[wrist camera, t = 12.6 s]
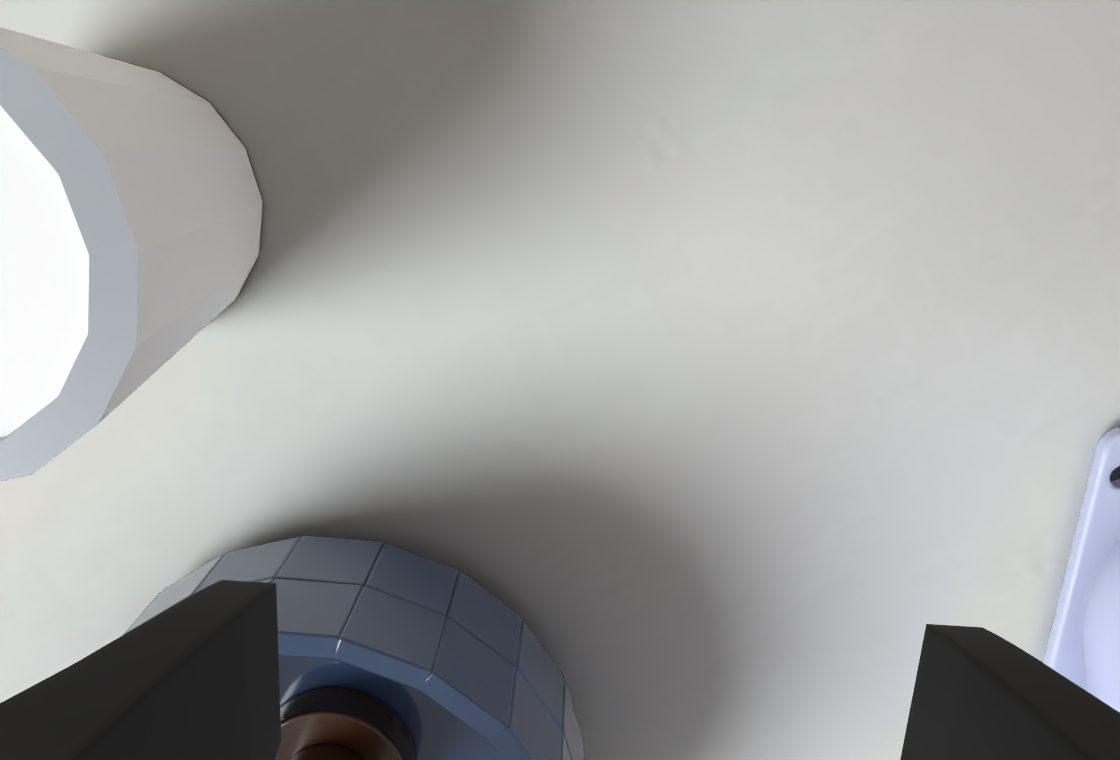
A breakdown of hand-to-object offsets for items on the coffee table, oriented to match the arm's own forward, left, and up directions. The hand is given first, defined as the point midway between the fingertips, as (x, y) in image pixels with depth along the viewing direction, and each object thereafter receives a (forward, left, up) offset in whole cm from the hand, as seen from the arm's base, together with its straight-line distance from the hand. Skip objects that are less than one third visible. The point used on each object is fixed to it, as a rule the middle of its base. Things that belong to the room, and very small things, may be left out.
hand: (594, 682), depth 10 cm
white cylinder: (+3, +10, -11) cm, 15 cm away
